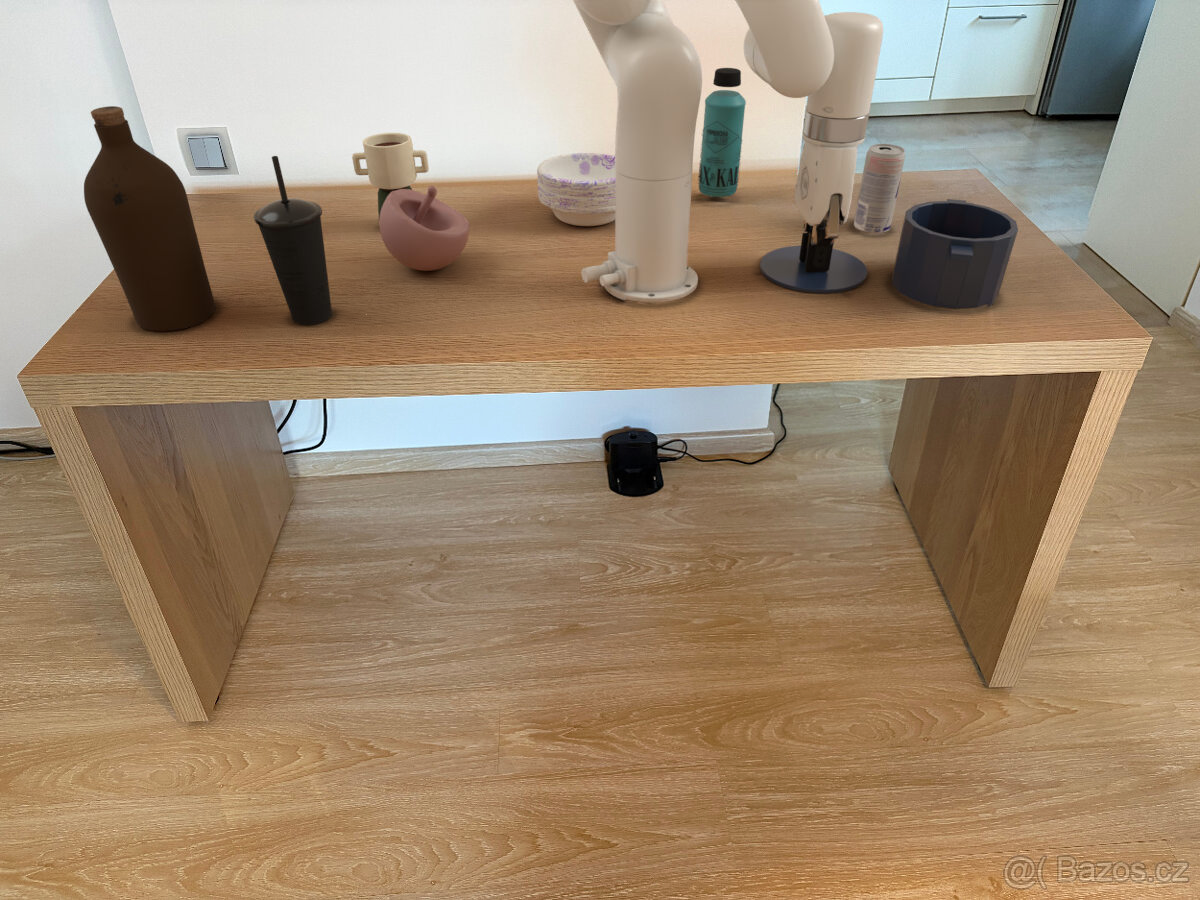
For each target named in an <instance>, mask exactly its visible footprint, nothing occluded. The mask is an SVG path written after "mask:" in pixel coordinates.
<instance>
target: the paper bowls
mask: <svg viewBox="0 0 1200 900" xmlns="http://www.w3.org/2000/svg"><path fill="white" fill-rule="evenodd" d="M536 175H537V182H536V183H537V196H538V200H539V202H540V203H541V204H542V205H544V206H545V207H548V208H550V209H551V211H552V213H553V214H554V216H555V217H556V218H557V219H558V220H559V221H560V222H563V223H565V224H568V225H572V226H578V227H595V226H596V227H597V226H602V225H606V224H610V223H611V222H615V154H614V155H613V154H608V153H606V154H605V153H595V152H577V153H568V154H561V155H556V156H553V157H550V158H547V159H545V160H543V161H542V162H541V163H539V165H538V166H537V169H536Z"/></svg>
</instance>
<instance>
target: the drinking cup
mask: <svg viewBox="0 0 1200 900" xmlns="http://www.w3.org/2000/svg"><path fill="white" fill-rule="evenodd" d="M271 160H272V165H273V169H274V174H275V177H276V182H277V187H278V190H279V193H280V198H281V199H277V200H274V201H272V202H270V203H268V204H266V205H263V206H262V207H260V208H259V209H257V210H256V211H255V212H254V214H253V220H254V222H255V224H256V225H257V226H258V227H259V228H258V229H259V230H260V233H261V235H262V239H263V241H264V244H265V247H266V249H267V253H268V256H269V258H270V261H271V263H272V266H273V269H274V272H275V274H276V277H277V281H278V282H279V286H280V288H281V291H282V295H283V296H284V299H285V302H286V305H287V307H288V311H289V313H290V316H291V318H292V320H293V322H294V323H295V324H297V325H301V326H313V325H319V324H322V323H325V322H326V321H328V320H329V319H330V318H331V317H332V316H333V310H332V302H331V301H332V300H331V293H330V284H329V277H328V268H327V259H326V252H325V251H326V250H325V242H324V235H323V234H324V233H323V226H322V217H321V216H322V215H323V208H322V206H321V205H320V204H319V203H317V202H315V201H311V200H305V199H301V198H288V194H287V189H286V185H285V181H284V178H283V173H282V169H281V164H280V160H279V156H278V155H273V156H271Z"/></svg>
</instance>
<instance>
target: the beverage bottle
mask: <svg viewBox="0 0 1200 900" xmlns="http://www.w3.org/2000/svg"><path fill="white" fill-rule="evenodd" d="M712 84H713V85H714V86H716V87H720V88H737V87H740V86H741V84H742V71H741V70H740V69H738V68H734V67H720V68H716V69H715V70H714V77H713V83H712ZM746 104H747V102H746V99H745V98H744V97H743V96H742V94H741V93H740V92H739V91H735V90H730V89H729V90H728V89H720V90H714V91H712V92H711V93H710V94H708V96H707V97H706V98H705V100H704V115H703V116H704V117H703V127H702V130H701V132H702V134H701V136H702V139H701V142H700V144H701V145H700V146H701V149H700V152H699V154H700V155H699V158H700V160H699V162H700V163H699V167H698V168H699V169H698V175H699V176H698V178H697V180H698V181H697V187H698V190H699V192H700V194H703V195H705V196H708V197H715V198H723V197H724V198H725V197H729V196H732V195H735V193H736V192H737V189H738V187H739V181H740V177H739V174H740V173H741V172H740V165H741V158H742V151H743V150H742V144H743V142H744V141H743V130H744V121H745V120H744V119H745V111H746Z"/></svg>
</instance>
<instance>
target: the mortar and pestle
mask: <svg viewBox="0 0 1200 900" xmlns="http://www.w3.org/2000/svg"><path fill="white" fill-rule="evenodd" d="M437 195H438V189H437V187H435V186H434V185H429V186H428V187H427V192H426V193H423V192H421V191H418V190H414V189H412V190H409V189H399V190H396V191H392V192H391V193H390V194H389V195H388V196H387V198H386V200H385V202H384V204H383V206H382V209H381V212H380V218H379V217H378V225H379V232H380V236H381V240H382V242H383V244H384V246H385V248H386V250H387V251H388V252H389V254H390V255H391V256H392V257H393V258H394V259H395V260H396V261H397V262H398V263H401V264H402V265H404V266H406V267H407V268H410V269H413V270H416V271H423V272H430V271H436V270H437V271H438V270H441V269H443V268H446V267H447V266H449V265H451V264H452V263H454V262H455V261H456V260H457V259H458V258H459V257H460V256H461V254H462V253H463V252H464V250H465V248H466V245H467V243H468V241H469V235H470V222H469V221H468V220H467V218H466V217H465V216H464V215H463V214H462V213H461V212H459V211H458V210H456V209H455V208H453V207H452V206H450V205H448V204H447V203H445V202H443V201H442V200H440V199H439V198H436V196H437Z"/></svg>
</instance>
